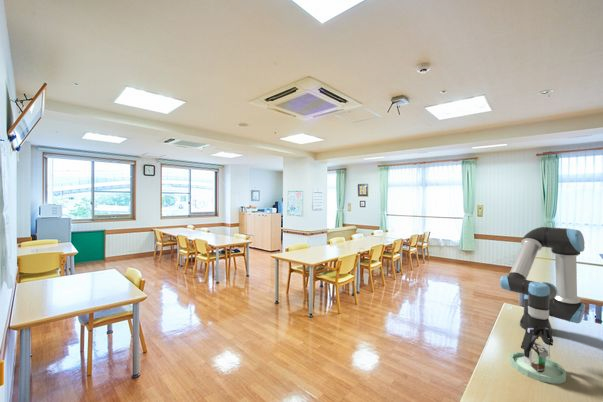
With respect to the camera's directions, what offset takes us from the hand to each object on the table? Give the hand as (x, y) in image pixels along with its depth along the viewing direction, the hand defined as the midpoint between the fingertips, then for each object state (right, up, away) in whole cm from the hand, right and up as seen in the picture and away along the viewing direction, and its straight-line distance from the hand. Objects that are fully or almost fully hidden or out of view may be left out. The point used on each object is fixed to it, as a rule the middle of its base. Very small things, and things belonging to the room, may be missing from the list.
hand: (536, 360), depth 130 cm
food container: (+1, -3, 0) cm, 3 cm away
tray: (0, -4, 0) cm, 4 cm away
